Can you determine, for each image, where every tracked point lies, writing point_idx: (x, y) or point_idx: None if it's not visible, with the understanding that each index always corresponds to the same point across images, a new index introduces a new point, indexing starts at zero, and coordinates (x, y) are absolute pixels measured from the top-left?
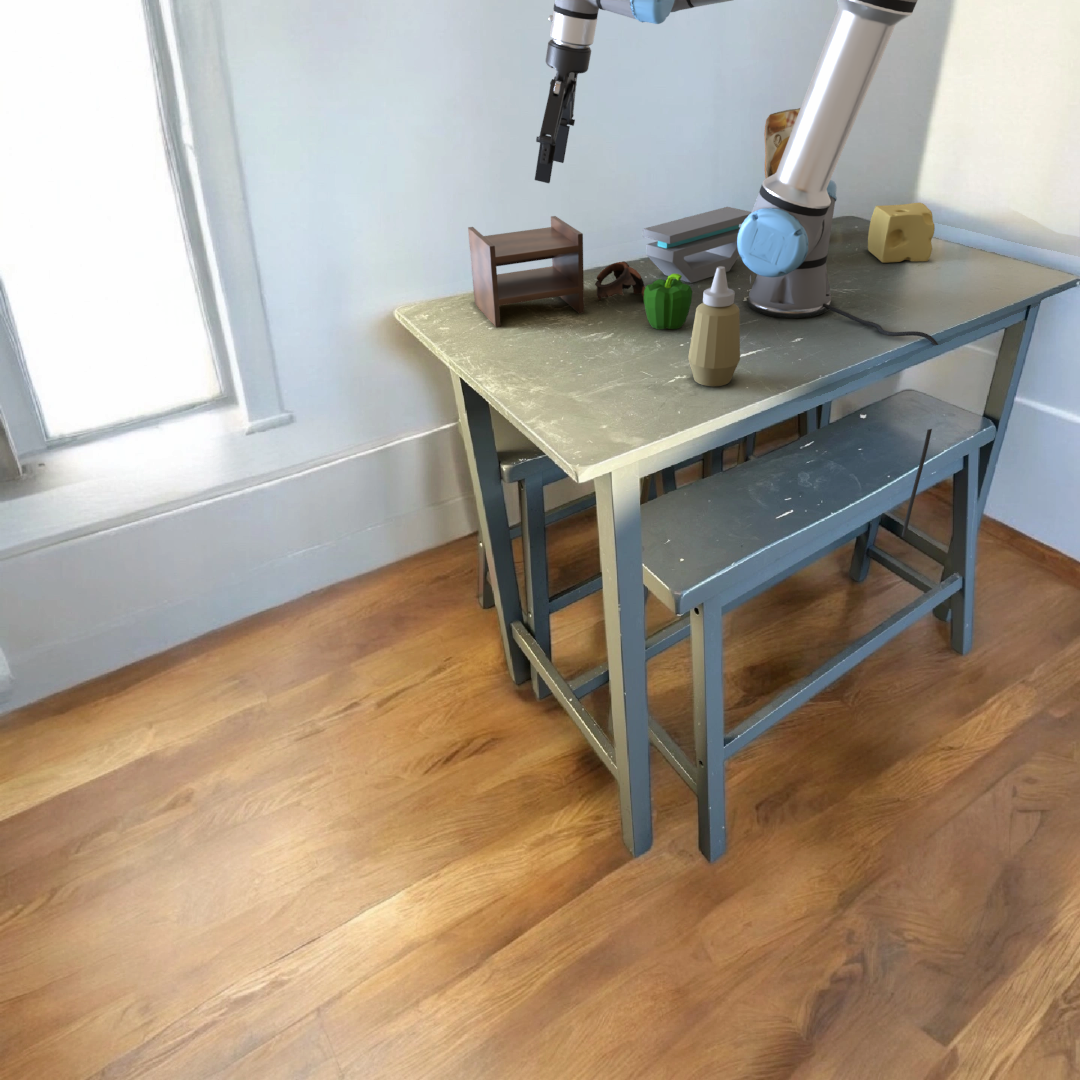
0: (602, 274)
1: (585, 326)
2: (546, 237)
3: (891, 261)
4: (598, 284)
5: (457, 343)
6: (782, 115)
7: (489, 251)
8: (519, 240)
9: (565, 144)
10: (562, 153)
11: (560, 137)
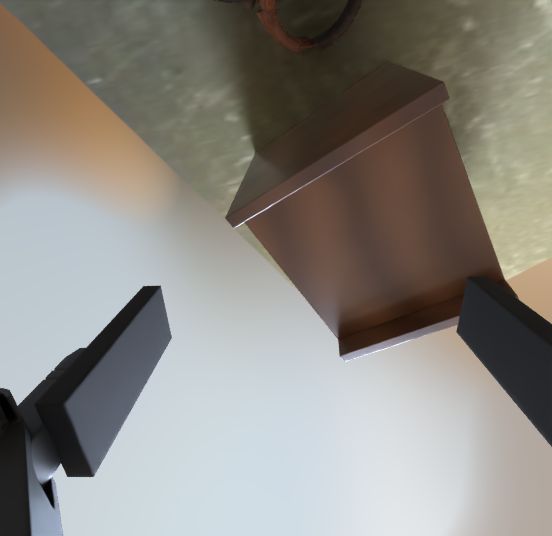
0: (289, 35)
1: (478, 34)
2: (342, 206)
3: None
4: (334, 37)
5: (516, 251)
6: None
7: None
8: (367, 260)
9: (124, 334)
10: (146, 314)
11: (118, 382)
